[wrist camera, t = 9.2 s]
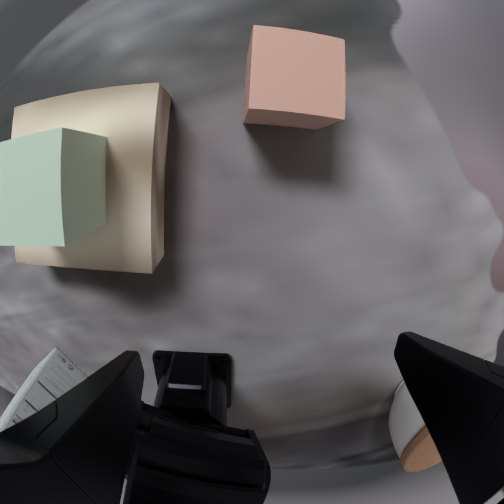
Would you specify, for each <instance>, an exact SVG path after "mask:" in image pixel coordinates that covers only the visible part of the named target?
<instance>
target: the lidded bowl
mask: <svg viewBox="0 0 504 504" xmlns="http://www.w3.org/2000/svg"><path fill="white" fill-rule="evenodd" d="M389 431H390V435H391V439H392V442H393V445H394V448H395V450H396V452H397V454H398V456H399V458H400V462H401V465H402V467H403V469H404V470H405V471H408V472H416V471H420V470H424V469H426V468H429V467H431V466H433V465H435V464H437V463H439V462H441V461H442V459H441V457H440V455H439V453H438V450H437V448H436V446H435V444H434V442H433V440H432V437H431V435H430V433H429V431H428V429H427V427H426V425H425V423H424V421H423V419H422V417H421V415H420V413H419V411H418V409H417V407H416V405H415V403H414V401H413V399H412V397H411V395H410V393H409V391H408V389H407V387H406V385H405V382H404V380H402V381H401V383H400V384H399V386H398V387H397V389H396V391H395V394H394V400H393V403H392V406H391V409H390V413H389Z"/></svg>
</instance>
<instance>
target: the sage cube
mask: <svg viewBox="0 0 504 504" xmlns="http://www.w3.org/2000/svg"><path fill="white" fill-rule="evenodd" d="M106 143H107V137H105V136H100V135H96V134H92V133H87V132H82V131H77V130H73V129H68V128H57V129H52V130H47V131H43V132H38V133H34V134H30V135H26V136H22V137H18V138H14V139H10V140H7V141H3V142H0V246H66V245H68V244H70V243H72V242H73V241H75V240H77V239H79V238H81V237H82V236H84V235H86V234H88V233H90V232H92V231H93V230H95V229H97V228H99V227H101V226H103V225H105V224H107V216H106Z"/></svg>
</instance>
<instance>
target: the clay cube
mask: <svg viewBox="0 0 504 504" xmlns="http://www.w3.org/2000/svg"><path fill="white" fill-rule="evenodd" d="M343 120H345V43H344V39H339V38H335V37H331V36H326V35H321V34H316V33H311V32H305V31H299V30H293V29H286V28H278V27H269V26H258V25H253V30H252V35H251V39H250V44H249V49H248V54H247V65H246V81H245V98H244V116H243V123H248V124H264V125H277V126H288V127H297V128H306V129H314V130H318V129H321V128H323V127H326V126H329V125H332V124H335V123H337V122H340V121H343Z"/></svg>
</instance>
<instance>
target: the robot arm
mask: <svg viewBox="0 0 504 504" xmlns="http://www.w3.org/2000/svg"><path fill="white" fill-rule="evenodd" d="M157 356H160V358H159V357H157ZM394 357H395V360H396V362H397V365H398V367H399V370H400V372H401V375H402V377H403V380H404V382H405V385H406V387H407V389H408V391H409V393H410V395H411V397H412V399H413V401H414V403H415V405H416V407H417V409H418V411H419V413H420V415H421V417H422V419H423V421H424V423H425V425H426V427H427V429H428V431H429V433H430V435H431V437H432V440H433V442H434V444H435V446H436V448H437V450H438V453H439V455H440V457H441V459H442V462H443V464H444V466H445V468H446V471H447V473H448V474H449V478H450V481H451V483H452V485H453V488H454V490H455V493H456V495H457V498H458V501H459V503H460V504H485V503H486V502H487V501H488V500H490V499H491V498H492V497H493V496H495V495H496V494H497V493H498V492H500V491H501V492H502V494H503V496H504V366H501V365H498V364H495V363H492V362H490V361H487V360H485V361H484V359H481V358H479V357H476V356H473V355H471V354H468V353H465V352H463V351H460V350H457V349H455V348H452V347H449V346H447V345H444V344H441V343H439V342H436V341H434V340H431V339H428V338H426V337H423V336H421V335H418V334H415V333H413V332H404V333H401V334H400V335H399V337H398V340H397V343H396V347H395V350H394ZM152 358H153V363H154V369H155V374H156V379H157V384H158V390H157V394H156V398H155V402H154V406H151V405H148V404H146V403H144V401H141V395H142V388H143V381H144V369H143V366H142V362H141V358H140V355H139V353H138V352H137V351H125V352H123V353H122V354H120V355H119V356H118V357H116V358H115V359H113V360H112V361H110V362H109V363H108V364H106V365H105V366H103V367H102V368H100V369H99V370H97V371H96V372H95V373H93V374H92V375H90V376H89V377H87V378H86V379H85V380H83V381H82V382H80V383H79V384H77V385H76V386H74V387H73V388H72V389H70V390H69V391H67V392H66V393H64V394H63V395H61V396H60V397H58V398H57V399H56V400H54V401H53V402H51V403H50V404H48V405H47V406H45V407H44V408H42V409H41V410H39V411H37V412H36V413H34V414H32V415H31V416H29V417H27V418H25V419H24V420H22V421H20V422H18V423H16V424H14V425H12V426H11V427H9V428H7V429H5V430H3V431H1V432H0V504H120V499H121V494H122V488H123V483H124V479H127V484H126V488H125V493H124V499H123V504H263V503H264V500H265V498H266V495H267V492H268V490H269V485H270V479H271V475H270V474H271V471H270V466H269V463H268V460H267V458H266V456H265V454H264V452H263V449H262V447H261V445H260V443H259V441H258V438H257V436H256V434H255V432H254V430H249V429H246V430H243V429H238V428H233V427H228V426H227V408H229V407H231V356H230V355H229V354H225V353H197V352H177V351H176V352H174V351H160V350H157V351H155V352H154V353H153V357H152ZM223 359H227V360H226V361H225V360H223ZM497 504H504V498H503V499H502V500H501V501H500V502H499V503H497Z"/></svg>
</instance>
